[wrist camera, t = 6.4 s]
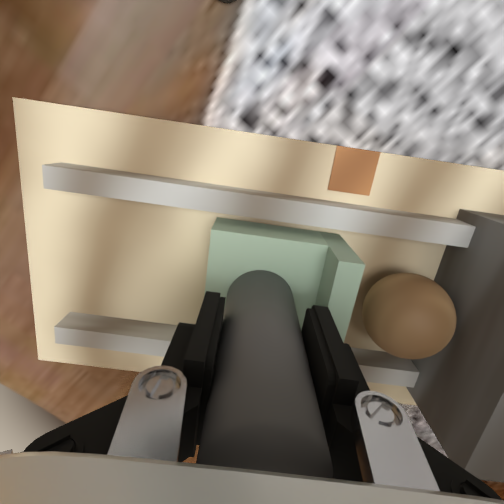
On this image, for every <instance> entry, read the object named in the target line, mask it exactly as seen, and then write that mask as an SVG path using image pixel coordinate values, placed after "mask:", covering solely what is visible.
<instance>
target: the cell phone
mask: <svg viewBox="0 0 504 504" xmlns="http://www.w3.org/2000/svg"><path fill="white" fill-rule="evenodd" d="M219 1H221V2H224V3H231V2H233V1H236V0H219Z"/></svg>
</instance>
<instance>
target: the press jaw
mask: <svg viewBox="0 0 504 504" xmlns="http://www.w3.org/2000/svg"><path fill="white" fill-rule="evenodd" d="M364 268H365V264H364V262H363V261H362V260H361V259H360V258H359V257H358V255H357V254H356V253H355V252H354V251H353V250H352V248H351V247H350V246H349V245H348V244H347V243H346V241H345V240H344V239H343V238H342V237H341V236H340V234H334V233H327V232H320V231H313V230H305V229H298V228H291V227H284V226H277V225H270V224H263V223H255V222H248V221H241V220H234V219H227V218H220V217H217V218H216V220H215V223H214V225H213V227H212V229H211V236H210V246H209V255H208V265H207V275H206V285H205V293H206V291H210V292H218V293H221V295H220V297H226V299H225V307H224V315H223V323H222V328H221V334H220V339H219V345H218V350H217V356H216V362H215V367H214V373H213V378H212V384H211V389H210V395H209V400H208V403H207V407H206V412H205V418H204V423H203V429H202V434H201V439H200V445H199V450H198V456H197V461H196V464H203V465H213V466H222V467H232V468H241V469H250V470H259V471H268V472H277V473H286V474H295V475H304V476H313V477H322V478H331V479H333V466H332V461H331V457H330V452H329V448H328V444H327V439H326V435H325V431H324V427H323V422H322V418H321V414H320V409H319V405H318V401H317V397H316V392H315V388H314V384H313V379H312V375H311V371H310V367H309V362H308V358H307V354H306V349H305V345H304V341H303V337H302V332H301V331H302V326H303V322H304V317H305V313H306V309H307V308H312V306H313V305H317V306H325V307H328V308H329V310H330V312H331V315H332V317H333V319H334V322H335V324H336V327H337V329H338V331H339V334H340V336H341V338H342V341H343V343H344V340H345V336H346V333H347V329H348V326H349V322H350V318H351V315H352V311H353V308H354V304H355V301H356V297H357V293H358V290H359V286H360V283H361V279H362V275H363V272H364ZM204 296H205V295H204Z"/></svg>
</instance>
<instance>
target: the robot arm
mask: <svg viewBox="0 0 504 504" xmlns="http://www.w3.org/2000/svg"><path fill="white" fill-rule="evenodd" d="M220 295H221V293H218V292H210V291H206V293H205V296H204V299H203V302H202V305H201V308H200V312H199V315H198V318H197V321H196V324H189V323H181V322H179V323H178V325H177V328H176V330H175V333H174V335H173V337H172V340H171V342H170V345H169V347H168V349H167V352H166V354H165V357H164V359H163V361H162V364H161V366H154V367H151V368H148V369H146V370H144V371H142V372H140V373H139V374H138V375H137V376H136V377H135V379H134V381H133V383H132V385H131V388H130V391H129V394H128V396H126V397H123V398H121V399H119V400H117V401H115V402H113V403H110V404H108V405H106V406H104V407H102V408H100V409H97V410H95V411H93V412H91V413H89V414H87V415H84V416H82V417H80V418H78V419H76V420H74V421H71V422H69V423H67V424H65V425H63V426H60V427H58V428H56V429H54V430H52V431H50V432H48V433H46V434H44V435H42V436H40V437H39V438H37V439H36V440H34V441H33V442H32V443H31V444H30V445H29V446H28V447H27V448H26V449H25V450H24V452H20V453H12V449H11V450H7V451H4V452H0V504H504V500H502V499H501V498H500V497H499V496H498V495H497V493H496V492H495V491H494V490H492V489H491V488H490V487H489V486H487V485H486V484H485V483H484V482H482V481H481V480H479V479H478V478H476V477H475V476H474V475H472V474H471V473H469V472H468V471H466V470H465V469H463V468H462V467H460V466H459V465H458V464H456V463H455V462H453V461H452V460H450V459H449V458H447V457H446V456H444V455H443V454H441V453H440V452H439V451H437V450H436V449H434V448H433V447H431V446H430V445H428V444H427V443H425V442H424V441H423V440H421V439H420V438H418V437H417V436H416V434H415V431H414V429H413V427H412V424H411V422H410V420H409V417H408V415H407V413H406V412H405V410H404V409H403V407H402V406H401V405H400V404H399V403H398V402H396V401H395V400H394V399H392V398H391V397H389V396H387V395H385V394H383V393H379V392H376V391H370V389H369V387H368V385H367V382H366V380H365V378H364V376H363V374H362V371H361V369H360V367H359V365H358V362H357V360H356V358H355V356H354V354H353V351H352V349H351V347H350V345H349V344H347V343H343V341H342V338H341V336H340V334H339V331H338V329H337V327H336V324H335V322H334V319H333V317H332V315H331V312H330V310H329V308H328V307H325V306H317V305H313V306H312V308H307V309H306V313H305V317H304V322H303V326H302V331H301V332H302V337H303V341H304V345H305V349H306V354H307V358H308V362H309V367H310V371H311V375H312V379H313V384H314V388H315V392H316V397H317V401H318V405H319V409H320V414H321V418H322V422H323V427H324V431H325V435H326V439H327V444H328V448H329V452H330V457H331V461H332V466H333V479H331V478H322V477H313V476H304V475H295V474H286V473H277V472H268V471H259V470H250V469H241V468H232V467H222V466H213V465H203V464H194V463H184V462H183V461H184V460H186V459H187V458H188V457H194V455H195V450H196V445H200V439H201V434H202V429H203V423H204V418H205V412H206V407H207V403H208V400H209V395H210V389H211V384H212V378H213V373H214V367H215V362H216V356H217V350H218V345H219V339H220V334H221V328H222V323H223V315H224V307H225V299H226V297H220Z"/></svg>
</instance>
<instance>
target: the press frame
mask: <svg viewBox="0 0 504 504" xmlns="http://www.w3.org/2000/svg"><path fill="white" fill-rule="evenodd" d="M13 106H14V116H15V126H16V136H17V147H18V157H19V167H20V177H21V187H22V197H23V208H24V218H25V228H26V238H27V248H28V258H29V269H30V279H31V289H32V299H33V309H34V319H35V330H36V340H37V350H38V360H46V361H54V362H63V363H71V364H79V365H87V366H96V367H104V368H112V369H120V370H128V371H137V372H142V371H144V370H146V369H148V368H151V367H154V366H161V364H162V361H163V359H164V357H165V354H166V352H167V349H168V347H169V345H170V342H171V340H172V337H173V335H174V333H175V330H176V328H177V325H178V323H179V322H181V323H189V324H196V321H197V318H198V315H199V312H200V308H201V305H202V302H203V299H204V295H205V285H206V275H207V265H208V255H209V246H210V236H211V229H212V227H213V225H214V223H215V220H216V218H217V217H220V218H227V219H234V220H241V221H248V222H255V223H263V224H270V225H277V226H284V227H291V228H298V229H305V230H313V231H320V232H327V233H334V234H340V236H341V237H342V238H343V239H344V240H345V241H346V243H347V244H348V245H349V246H350V247H351V248H352V250H353V251H354V252H355V253H356V254H357V255H358V257H359V258H360V259H361V260H362V261H363V262H364V264H365V268H364V272H363V275H362V279H361V283H360V286H359V290H358V293H357V297H356V301H355V304H354V308H353V311H352V315H351V318H350V322H349V326H348V329H347V333H346V336H345V340H344V343H347V344H349V345H350V347H351V349H352V351H353V354H354V356H355V358H356V360H357V362H358V365H359V367H360V369H361V371H362V374H363V376H364V378H365V380H366V382H367V385H368V387H369V389H370V391H376V392H379V393H383V394H385V395H387V396H389V397H391V398H392V399H394V400H395V401H396V402H398V403H400V404H408V405H416V406H418V408H419V409H420V411H421V413H422V414H423V416H424V417H425V419H426V421H427V422H428V424H429V426H430V427H431V429H432V431H433V432H434V434H435V436H436V437H437V439H438V441H439V442H440V444H441V446H442V447H443V449H444V451H445V452H446V454H447V456H448V457H449V459H450V460H452V461H453V462H455V463H456V464H458V465H459V466H460V467H462V468H463V469H465V470H466V471H468V472H469V473H471V474H472V475H474V476H475V477H476V478H478V479H479V480H488V481H497V482H504V171H502V170H496V169H489V168H482V167H475V166H469V165H462V164H455V163H449V162H442V161H435V160H429V159H422V158H415V157H409V156H402V155H395V154H389V153H382V152H375V151H369V150H362V149H355V148H349V147H342V146H335V145H328V144H322V143H315V142H308V141H302V140H295V139H288V138H282V137H275V136H268V135H262V134H255V133H248V132H242V131H235V130H228V129H222V128H215V127H208V126H202V125H195V124H188V123H181V122H175V121H168V120H161V119H155V118H148V117H141V116H135V115H128V114H121V113H115V112H108V111H101V110H95V109H88V108H81V107H75V106H68V105H61V104H55V103H48V102H41V101H34V100H28V99H21V98H14V97H13Z"/></svg>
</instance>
